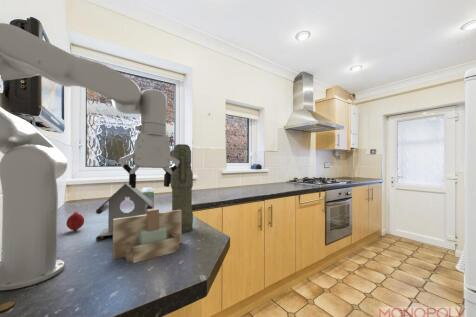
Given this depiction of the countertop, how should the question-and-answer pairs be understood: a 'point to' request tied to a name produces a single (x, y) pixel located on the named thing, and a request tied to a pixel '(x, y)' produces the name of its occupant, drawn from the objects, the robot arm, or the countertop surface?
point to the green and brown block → (152, 228)
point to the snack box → (148, 196)
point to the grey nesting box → (116, 211)
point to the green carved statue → (183, 185)
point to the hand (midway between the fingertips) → (150, 187)
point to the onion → (75, 221)
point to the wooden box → (128, 243)
